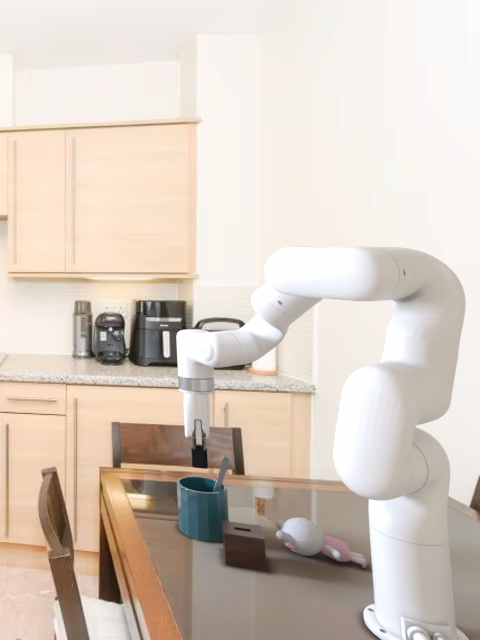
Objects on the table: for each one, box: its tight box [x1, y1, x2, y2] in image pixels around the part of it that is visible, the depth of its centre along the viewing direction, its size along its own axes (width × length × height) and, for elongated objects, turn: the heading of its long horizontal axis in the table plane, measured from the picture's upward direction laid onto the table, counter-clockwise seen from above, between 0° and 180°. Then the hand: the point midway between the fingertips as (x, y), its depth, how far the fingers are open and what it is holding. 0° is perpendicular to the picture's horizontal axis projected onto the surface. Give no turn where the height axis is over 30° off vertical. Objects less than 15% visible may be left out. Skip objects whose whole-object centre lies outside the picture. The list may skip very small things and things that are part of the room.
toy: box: [275, 517, 368, 569], centre depth 102 cm, size 8×7×15 cm
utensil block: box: [222, 520, 268, 572], centre depth 101 cm, size 6×7×6 cm
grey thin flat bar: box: [213, 456, 230, 492], centre depth 114 cm, size 1×2×16 cm, turn 63°
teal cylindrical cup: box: [176, 475, 230, 542], centre depth 114 cm, size 10×10×10 cm
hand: (200, 466), depth 115 cm, fingers closed
